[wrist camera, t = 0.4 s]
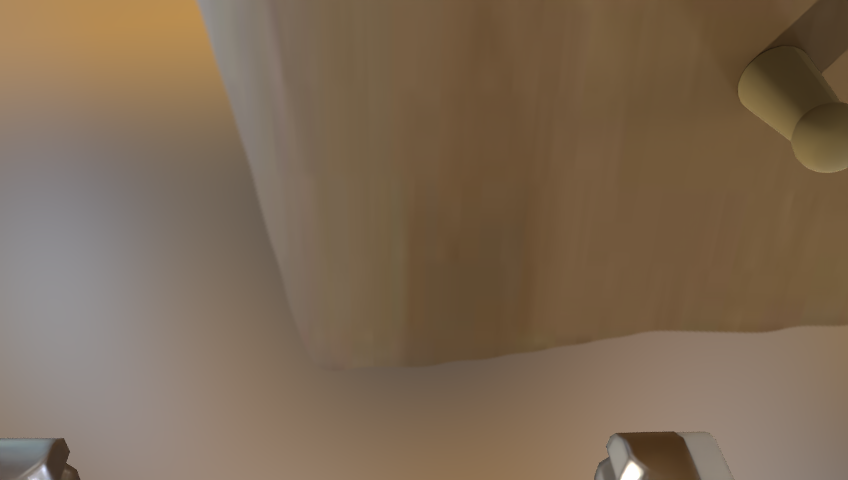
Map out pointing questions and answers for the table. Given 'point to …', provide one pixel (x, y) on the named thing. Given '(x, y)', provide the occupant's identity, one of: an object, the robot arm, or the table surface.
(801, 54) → the tan pawn game piece
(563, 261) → the table surface
